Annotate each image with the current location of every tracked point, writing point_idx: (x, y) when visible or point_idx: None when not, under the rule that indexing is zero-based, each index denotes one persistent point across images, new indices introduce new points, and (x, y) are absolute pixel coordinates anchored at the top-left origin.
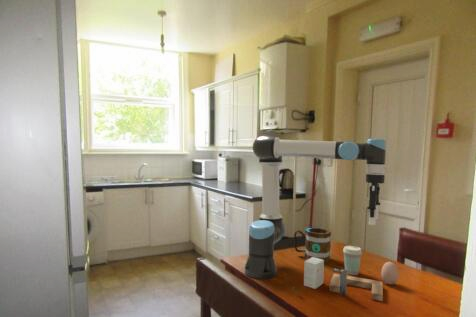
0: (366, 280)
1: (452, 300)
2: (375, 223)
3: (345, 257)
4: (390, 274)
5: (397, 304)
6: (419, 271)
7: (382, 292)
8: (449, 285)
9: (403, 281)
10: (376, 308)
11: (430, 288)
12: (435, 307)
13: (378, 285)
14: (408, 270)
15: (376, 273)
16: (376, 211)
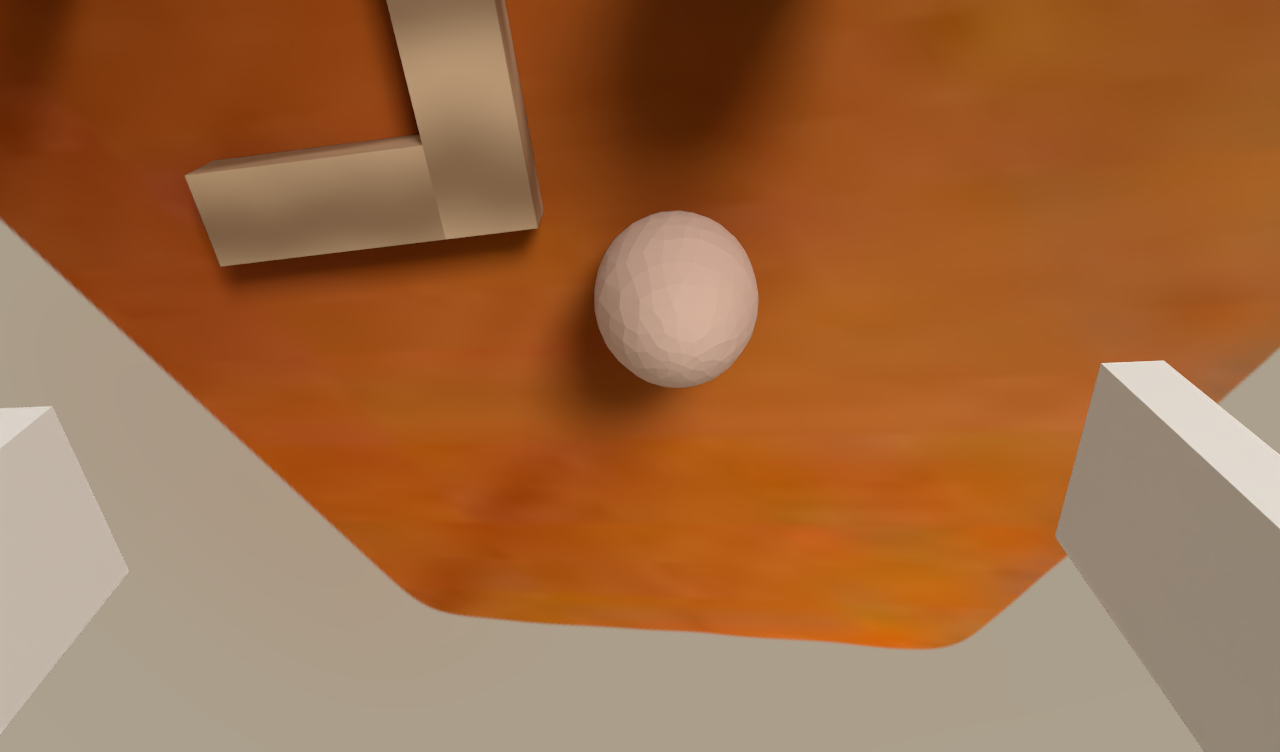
0: (464, 81)
1: (615, 615)
2: (99, 604)
3: None
4: (596, 317)
5: (281, 344)
6: None
7: (271, 258)
8: (893, 614)
9: (809, 355)
10: (77, 219)
11: (759, 519)
12: (425, 539)
13: (412, 208)
14: None
15: (913, 115)
16: (1247, 737)
